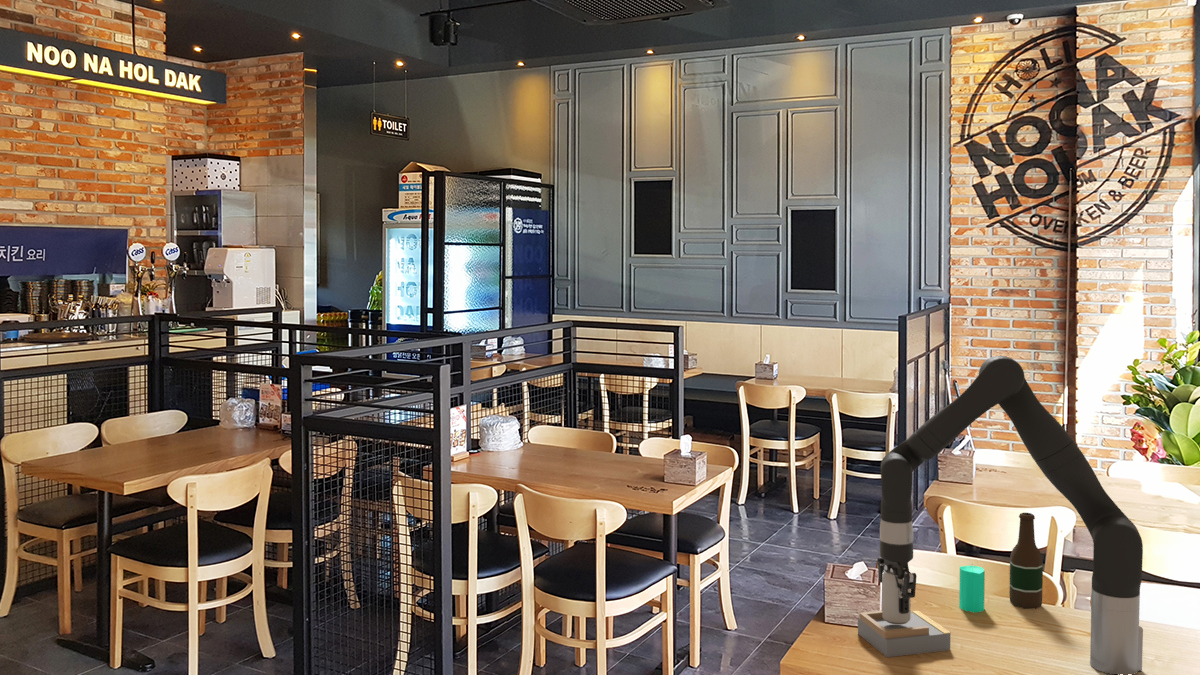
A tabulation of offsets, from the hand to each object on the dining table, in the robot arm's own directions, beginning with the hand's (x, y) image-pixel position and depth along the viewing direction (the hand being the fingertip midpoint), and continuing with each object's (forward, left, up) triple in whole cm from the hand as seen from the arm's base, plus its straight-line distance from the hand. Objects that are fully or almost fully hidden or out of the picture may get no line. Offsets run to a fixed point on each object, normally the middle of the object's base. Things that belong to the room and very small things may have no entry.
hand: (896, 607), depth 219 cm
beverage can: (0, 0, -3) cm, 3 cm away
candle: (-30, -15, -9) cm, 35 cm away
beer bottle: (-45, -14, -9) cm, 48 cm away
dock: (-2, 0, -8) cm, 9 cm away
